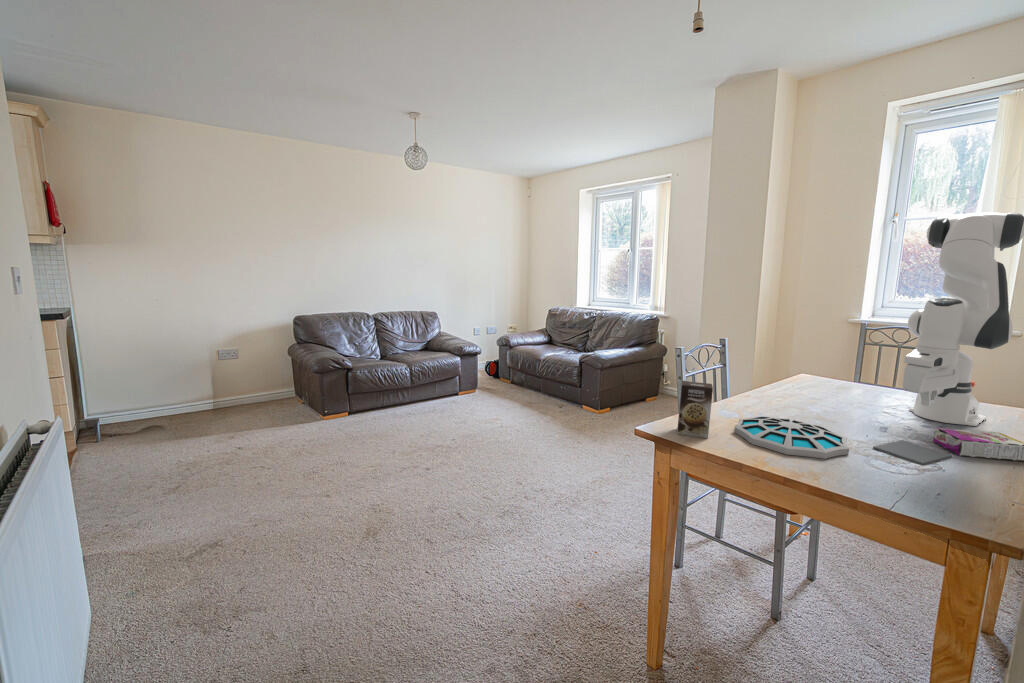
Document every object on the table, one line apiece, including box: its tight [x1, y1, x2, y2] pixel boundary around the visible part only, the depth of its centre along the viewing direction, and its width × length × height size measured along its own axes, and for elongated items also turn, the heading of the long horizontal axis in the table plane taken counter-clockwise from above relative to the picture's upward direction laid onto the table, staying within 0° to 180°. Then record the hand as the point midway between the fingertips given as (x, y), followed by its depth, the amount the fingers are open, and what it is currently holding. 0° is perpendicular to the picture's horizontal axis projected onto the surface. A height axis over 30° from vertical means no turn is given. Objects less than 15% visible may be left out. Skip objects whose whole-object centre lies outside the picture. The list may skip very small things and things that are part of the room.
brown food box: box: [676, 380, 714, 439], centre depth 141 cm, size 9×6×16 cm
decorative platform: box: [734, 415, 850, 460], centre depth 139 cm, size 31×29×5 cm
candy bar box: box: [932, 427, 1024, 462], centre depth 130 cm, size 11×5×16 cm
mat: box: [872, 439, 953, 466], centre depth 129 cm, size 14×12×1 cm
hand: (927, 404), depth 128 cm, fingers closed
